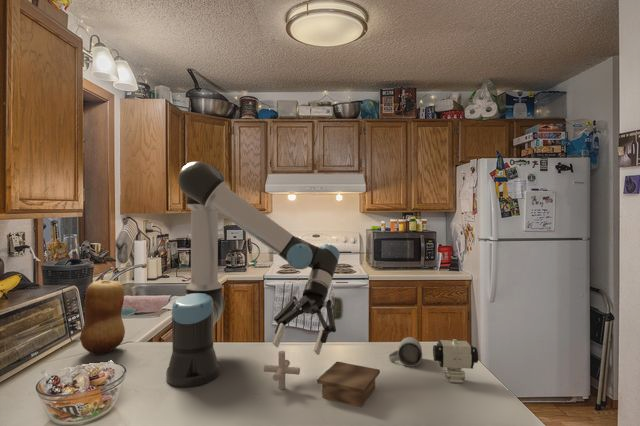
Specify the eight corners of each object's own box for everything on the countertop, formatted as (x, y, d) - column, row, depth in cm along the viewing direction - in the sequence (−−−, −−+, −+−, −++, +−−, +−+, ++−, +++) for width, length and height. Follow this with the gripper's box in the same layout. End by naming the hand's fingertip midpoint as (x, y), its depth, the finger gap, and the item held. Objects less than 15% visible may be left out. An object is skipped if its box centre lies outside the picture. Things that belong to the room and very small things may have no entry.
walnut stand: (317, 398, 99) (317, 379, 99) (336, 378, 111) (336, 361, 111) (364, 409, 93) (364, 389, 93) (379, 387, 105) (379, 369, 105)
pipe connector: (294, 398, 99) (294, 360, 99) (258, 394, 101) (258, 357, 101) (303, 381, 109) (303, 346, 109) (270, 378, 111) (270, 344, 111)
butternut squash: (123, 356, 127) (122, 283, 127) (76, 363, 122) (75, 286, 122) (126, 343, 140) (126, 276, 140) (84, 348, 135) (84, 279, 135)
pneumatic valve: (432, 376, 112) (432, 335, 112) (473, 378, 110) (473, 337, 110) (436, 384, 106) (436, 342, 106) (479, 387, 105) (479, 344, 105)
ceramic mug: (421, 357, 126) (421, 334, 126) (422, 367, 118) (422, 343, 118) (389, 355, 128) (388, 333, 128) (388, 365, 120) (387, 341, 120)
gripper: (356, 296, 119) (338, 361, 106) (288, 289, 130) (264, 348, 117) (350, 283, 114) (330, 349, 101) (280, 277, 125) (254, 336, 112)
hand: (295, 348), depth 109 cm, fingers open, 13 cm apart
